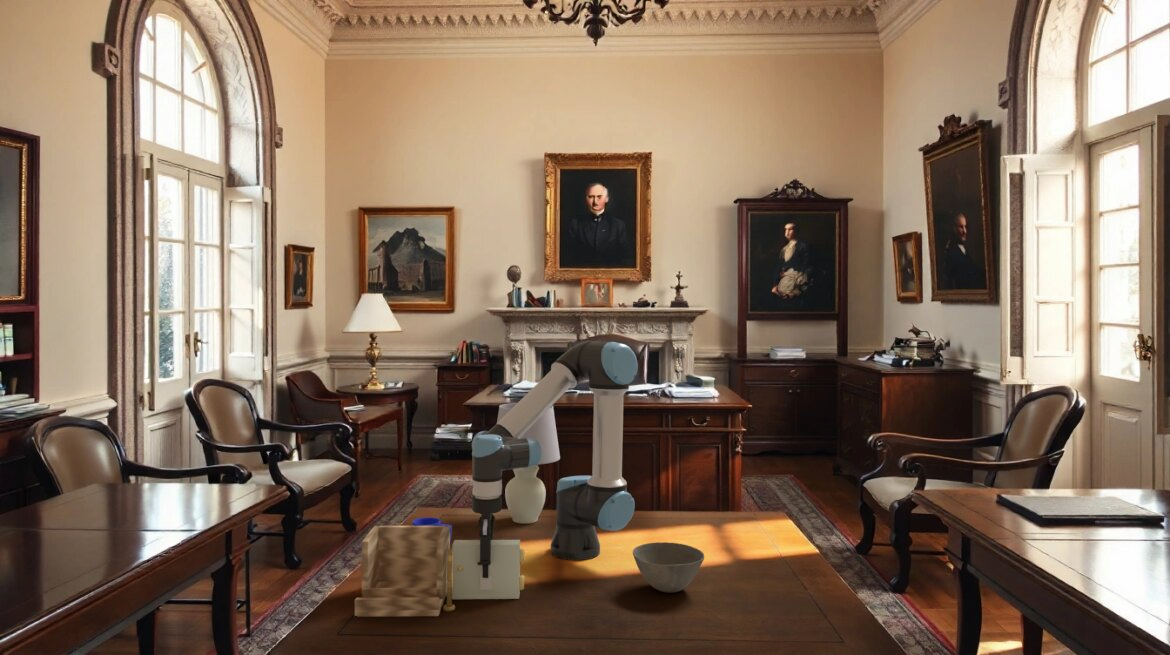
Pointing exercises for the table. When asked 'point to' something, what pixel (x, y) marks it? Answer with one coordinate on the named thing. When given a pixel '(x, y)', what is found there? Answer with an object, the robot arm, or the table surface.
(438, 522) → the mug
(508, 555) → the door
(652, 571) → the bowl
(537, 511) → the lamp
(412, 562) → the cabinet
